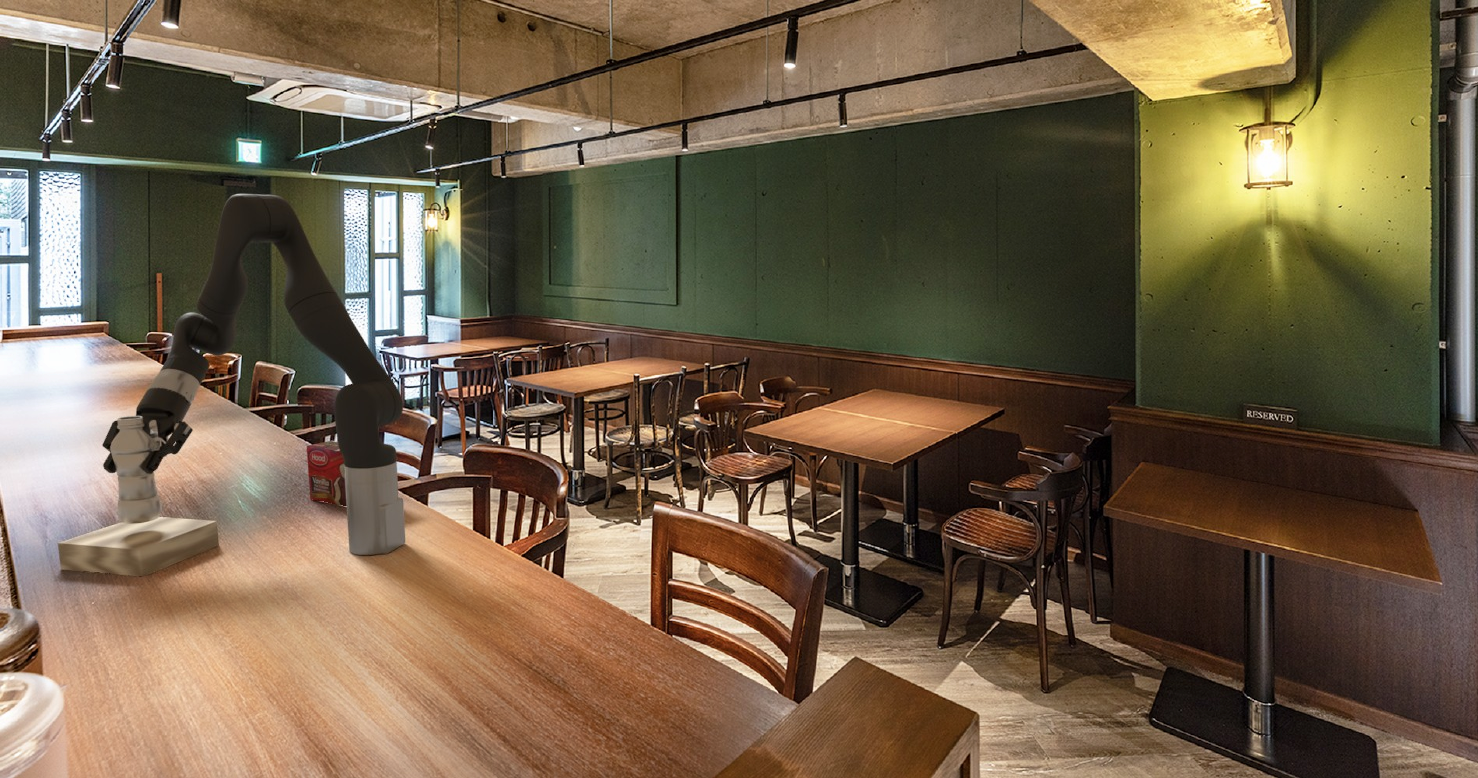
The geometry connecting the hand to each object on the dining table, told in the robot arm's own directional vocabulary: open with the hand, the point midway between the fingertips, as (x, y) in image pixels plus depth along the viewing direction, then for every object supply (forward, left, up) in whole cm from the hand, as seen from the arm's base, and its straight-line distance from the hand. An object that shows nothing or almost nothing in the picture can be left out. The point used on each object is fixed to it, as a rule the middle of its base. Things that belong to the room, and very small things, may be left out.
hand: (127, 471), depth 135 cm
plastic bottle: (0, -2, -11) cm, 11 cm away
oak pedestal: (0, -2, -17) cm, 17 cm away
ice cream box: (-14, -41, -17) cm, 46 cm away
